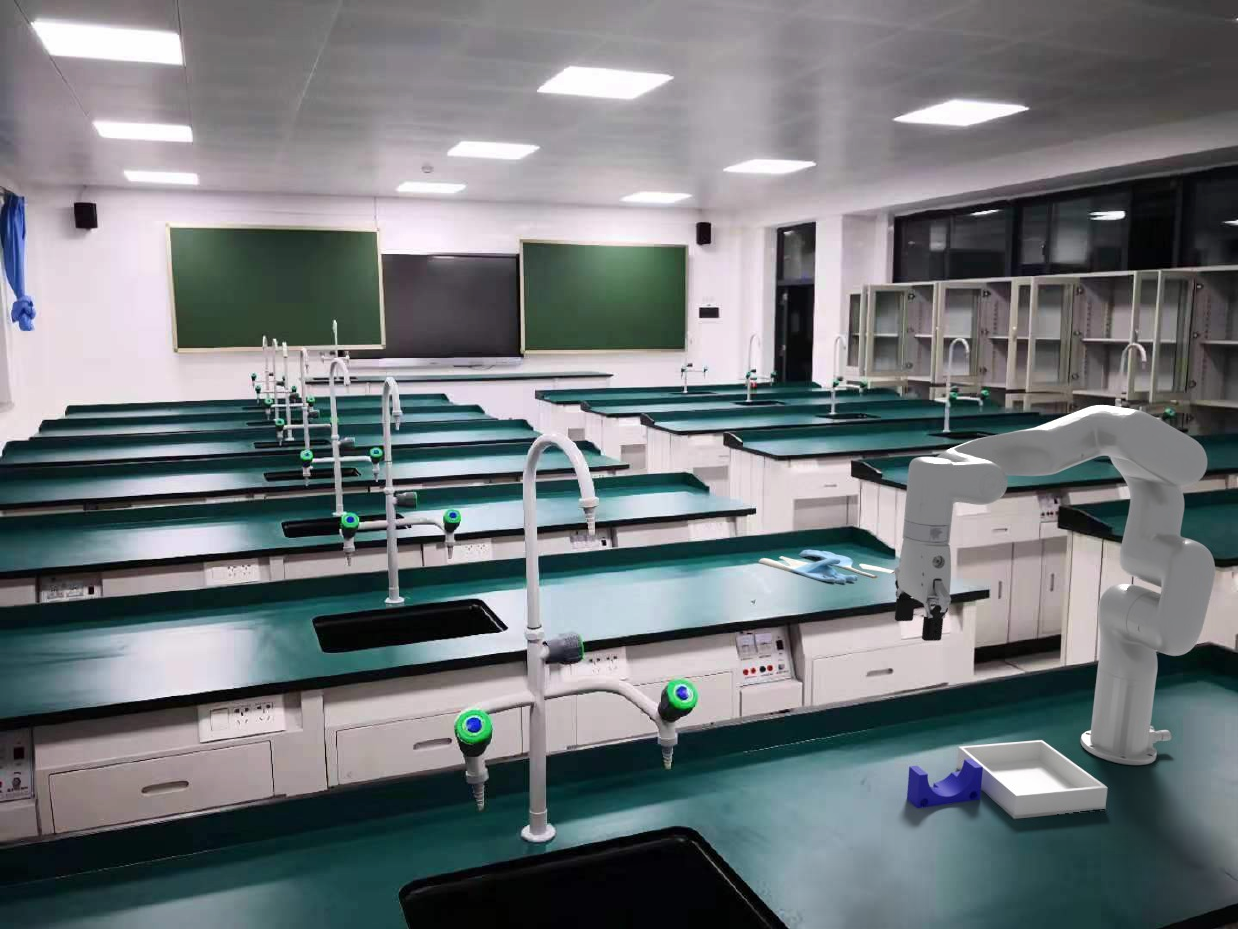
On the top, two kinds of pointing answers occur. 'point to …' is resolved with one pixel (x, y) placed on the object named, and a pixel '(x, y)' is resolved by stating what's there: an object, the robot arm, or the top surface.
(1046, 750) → the tray
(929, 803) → the cable clip
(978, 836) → the top surface
